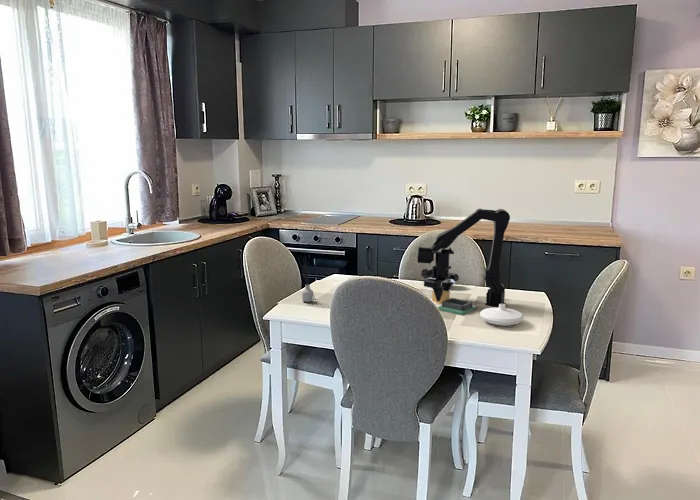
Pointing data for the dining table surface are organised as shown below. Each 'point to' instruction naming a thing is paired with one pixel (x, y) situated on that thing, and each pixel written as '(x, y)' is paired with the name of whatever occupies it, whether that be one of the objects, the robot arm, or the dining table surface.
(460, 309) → the socket board
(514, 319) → the vase
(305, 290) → the reed diffuser
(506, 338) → the dining table surface
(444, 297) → the plug
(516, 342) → the dining table surface
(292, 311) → the dining table surface
